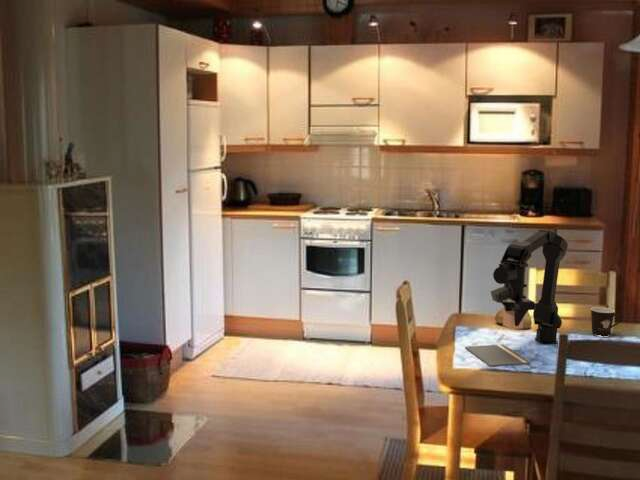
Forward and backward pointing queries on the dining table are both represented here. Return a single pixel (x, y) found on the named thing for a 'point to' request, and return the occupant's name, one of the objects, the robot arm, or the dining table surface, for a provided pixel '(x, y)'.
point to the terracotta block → (511, 320)
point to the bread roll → (526, 321)
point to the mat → (497, 355)
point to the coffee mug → (603, 320)
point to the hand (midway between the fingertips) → (512, 323)
